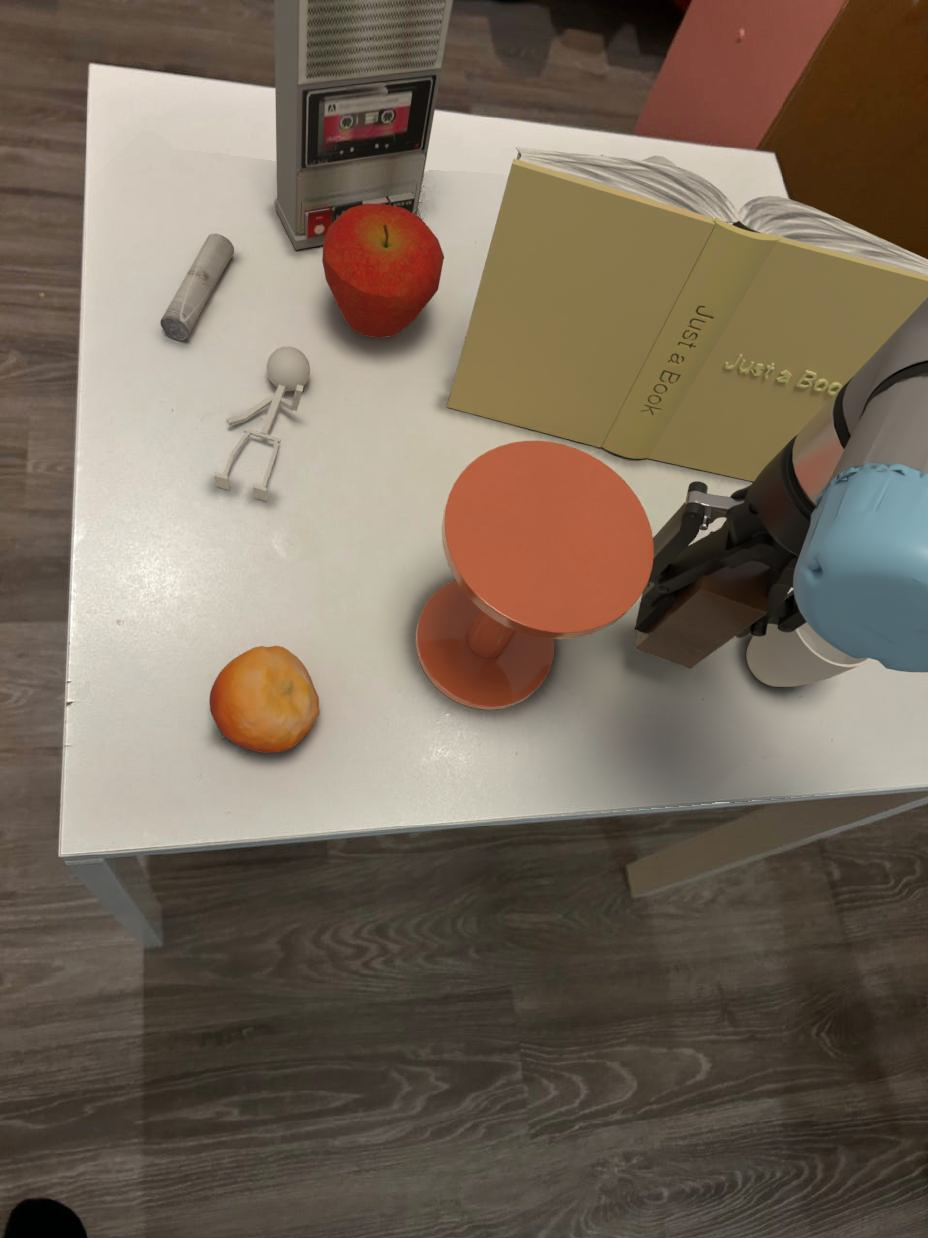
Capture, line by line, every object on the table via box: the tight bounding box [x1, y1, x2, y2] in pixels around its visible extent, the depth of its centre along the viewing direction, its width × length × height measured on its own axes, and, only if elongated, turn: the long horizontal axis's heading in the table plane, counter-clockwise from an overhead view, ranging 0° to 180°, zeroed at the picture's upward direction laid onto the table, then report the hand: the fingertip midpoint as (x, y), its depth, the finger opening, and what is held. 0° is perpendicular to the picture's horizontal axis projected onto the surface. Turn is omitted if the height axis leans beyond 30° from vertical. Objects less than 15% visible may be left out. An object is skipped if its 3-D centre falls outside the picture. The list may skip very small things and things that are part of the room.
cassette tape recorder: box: [273, 0, 454, 250], centre depth 75 cm, size 14×6×25 cm, turn 115°
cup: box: [745, 622, 872, 688], centre depth 71 cm, size 8×8×10 cm
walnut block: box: [634, 530, 770, 670], centre depth 63 cm, size 5×5×12 cm
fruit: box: [208, 645, 321, 754], centre depth 62 cm, size 8×8×8 cm
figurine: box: [213, 346, 311, 502], centre depth 72 cm, size 6×6×15 cm
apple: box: [322, 204, 445, 338], centre depth 76 cm, size 11×11×12 cm
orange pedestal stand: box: [415, 440, 654, 711], centre depth 62 cm, size 14×14×20 cm
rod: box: [160, 233, 235, 341], centre depth 78 cm, size 12×3×3 cm, turn 165°
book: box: [446, 146, 928, 483], centre depth 73 cm, size 36×8×24 cm, turn 82°
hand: (674, 628), depth 68 cm, fingers closed on walnut block, 5 cm apart
